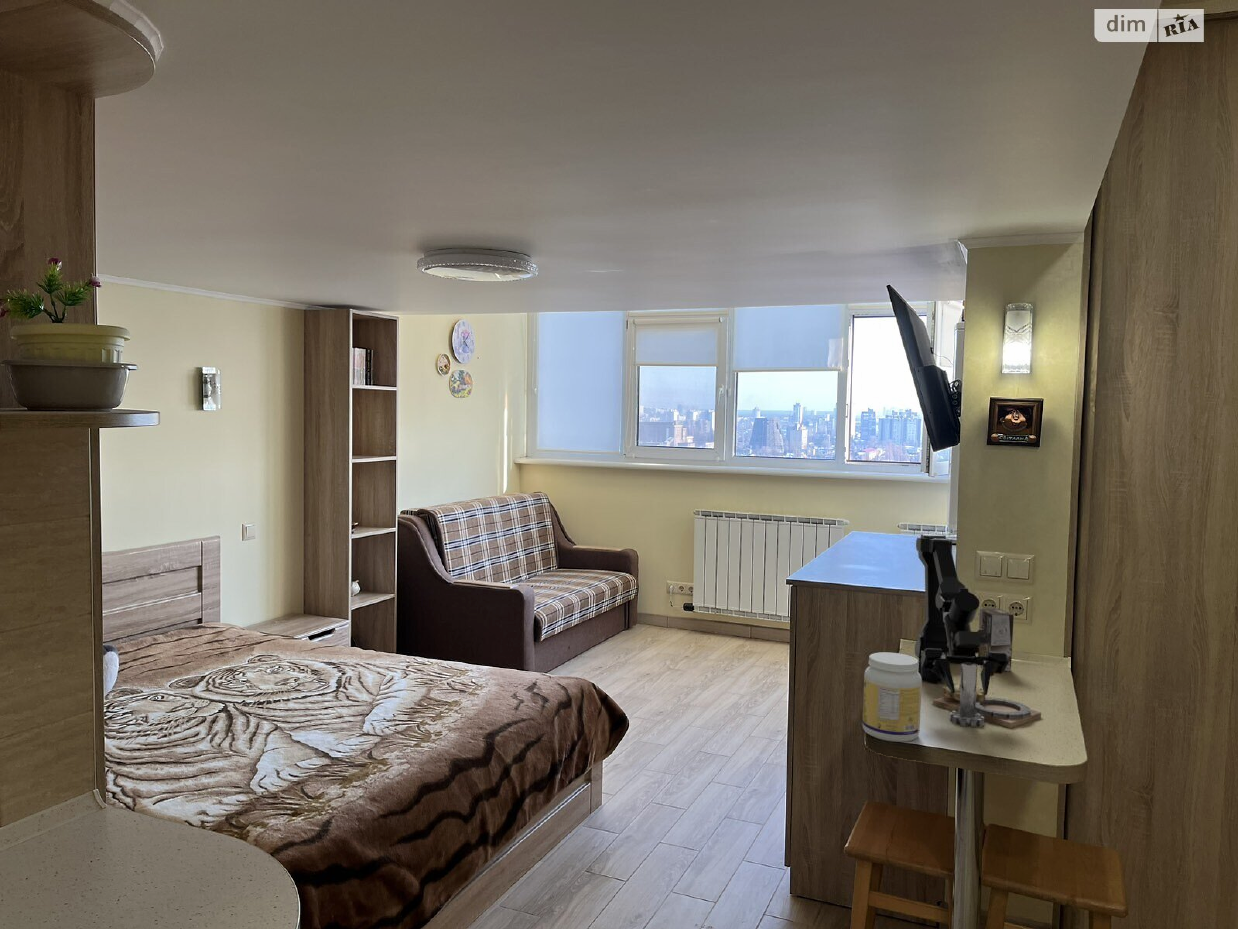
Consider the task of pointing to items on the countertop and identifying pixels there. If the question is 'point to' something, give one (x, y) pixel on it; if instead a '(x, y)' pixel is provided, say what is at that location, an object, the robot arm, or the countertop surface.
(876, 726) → the supplement tub
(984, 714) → the gear board
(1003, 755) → the countertop surface
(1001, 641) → the coffee box
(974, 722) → the gear
